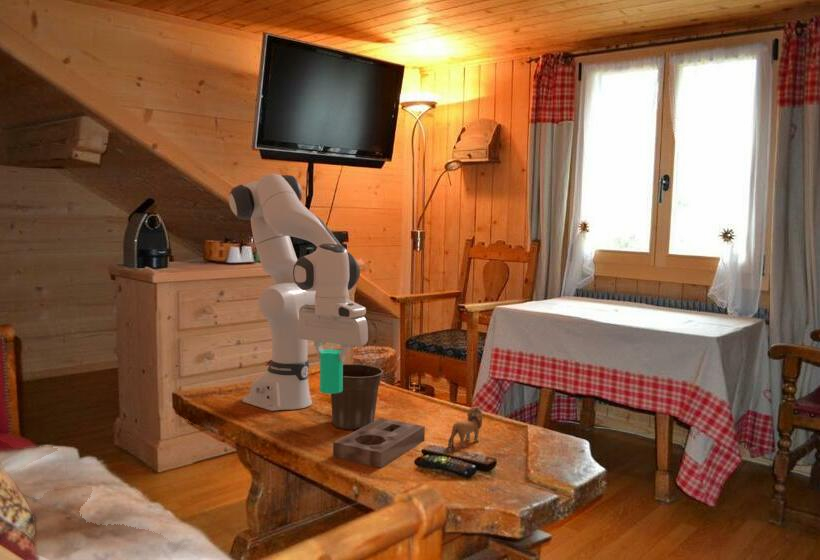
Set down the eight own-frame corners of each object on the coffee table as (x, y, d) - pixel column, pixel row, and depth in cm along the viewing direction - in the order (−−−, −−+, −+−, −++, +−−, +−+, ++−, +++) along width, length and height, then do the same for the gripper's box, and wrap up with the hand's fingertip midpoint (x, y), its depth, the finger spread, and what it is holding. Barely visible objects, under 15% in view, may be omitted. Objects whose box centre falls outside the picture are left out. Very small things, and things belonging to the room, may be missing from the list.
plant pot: (389, 419, 209) (390, 366, 207) (370, 435, 193) (372, 379, 192) (338, 413, 213) (339, 361, 212) (317, 428, 198) (317, 373, 196)
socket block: (332, 457, 176) (333, 442, 175) (380, 431, 197) (380, 417, 197) (380, 468, 169) (381, 452, 169) (424, 440, 191) (424, 426, 190)
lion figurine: (468, 434, 197) (469, 403, 196) (485, 438, 194) (487, 407, 193) (443, 449, 184) (444, 416, 183) (461, 453, 182) (462, 420, 181)
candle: (338, 394, 178) (339, 348, 177) (316, 392, 180) (316, 347, 178) (345, 388, 184) (346, 344, 183) (324, 386, 186) (324, 342, 184)
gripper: (292, 305, 182) (292, 356, 183) (358, 312, 172) (357, 366, 174) (306, 302, 187) (306, 352, 189) (371, 308, 178) (370, 362, 179)
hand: (331, 359), depth 181 cm, fingers closed on candle, 5 cm apart
